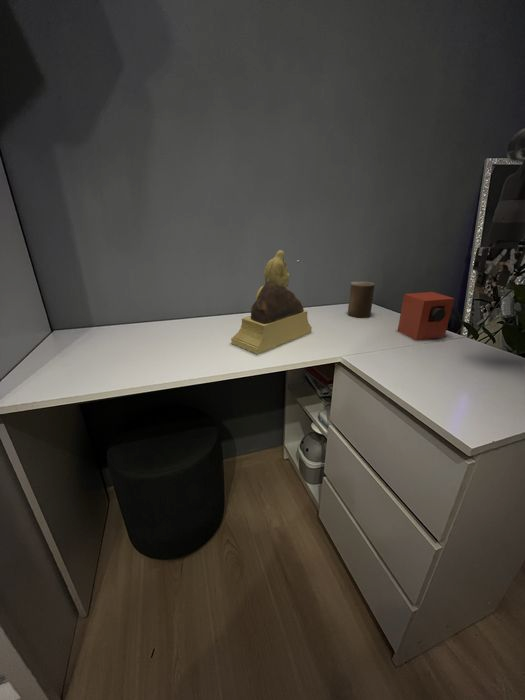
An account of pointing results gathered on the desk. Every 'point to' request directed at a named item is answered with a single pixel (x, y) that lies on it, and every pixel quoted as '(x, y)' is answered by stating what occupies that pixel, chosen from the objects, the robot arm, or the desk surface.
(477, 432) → the desk surface
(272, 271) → the yellow and brown statue
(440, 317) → the button
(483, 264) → the robot arm
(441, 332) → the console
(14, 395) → the desk surface
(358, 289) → the pillar candle
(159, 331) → the desk surface
